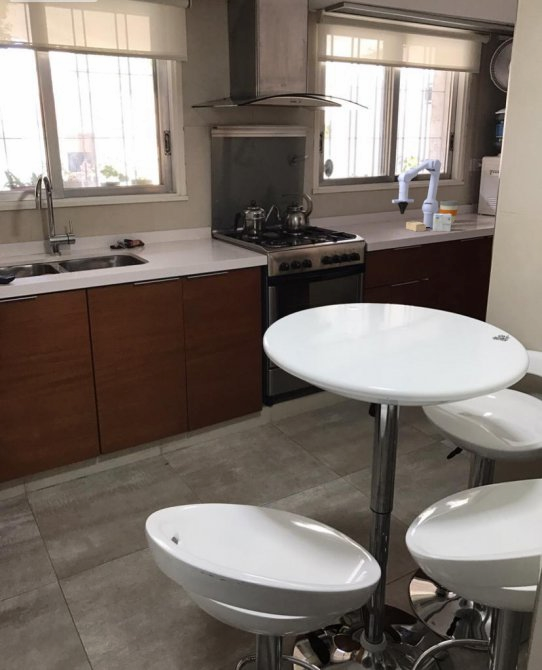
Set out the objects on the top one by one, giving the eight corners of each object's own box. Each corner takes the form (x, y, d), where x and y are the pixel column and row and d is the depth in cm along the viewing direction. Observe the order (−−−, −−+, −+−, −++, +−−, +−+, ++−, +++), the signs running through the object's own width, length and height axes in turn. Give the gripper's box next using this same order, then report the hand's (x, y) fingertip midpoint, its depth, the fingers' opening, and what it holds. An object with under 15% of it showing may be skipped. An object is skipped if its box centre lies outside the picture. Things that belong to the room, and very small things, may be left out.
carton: (405, 229, 393) (406, 222, 392) (415, 228, 395) (415, 222, 394) (415, 231, 381) (416, 225, 380) (425, 231, 383) (426, 225, 382)
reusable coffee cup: (447, 224, 416) (449, 202, 411) (434, 222, 426) (436, 200, 422) (460, 222, 422) (462, 201, 417) (447, 220, 432) (449, 199, 428)
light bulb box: (448, 230, 389) (450, 213, 385) (450, 231, 382) (452, 214, 379) (432, 229, 390) (433, 213, 386) (433, 231, 383) (435, 214, 380)
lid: (406, 222, 392) (406, 222, 391) (415, 221, 393) (415, 220, 393) (416, 225, 380) (416, 224, 380) (425, 224, 382) (425, 223, 381)
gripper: (396, 193, 375) (395, 215, 379) (416, 192, 379) (415, 214, 383) (391, 192, 381) (389, 213, 386) (411, 191, 385) (409, 213, 389)
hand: (402, 214), depth 385 cm, fingers closed
